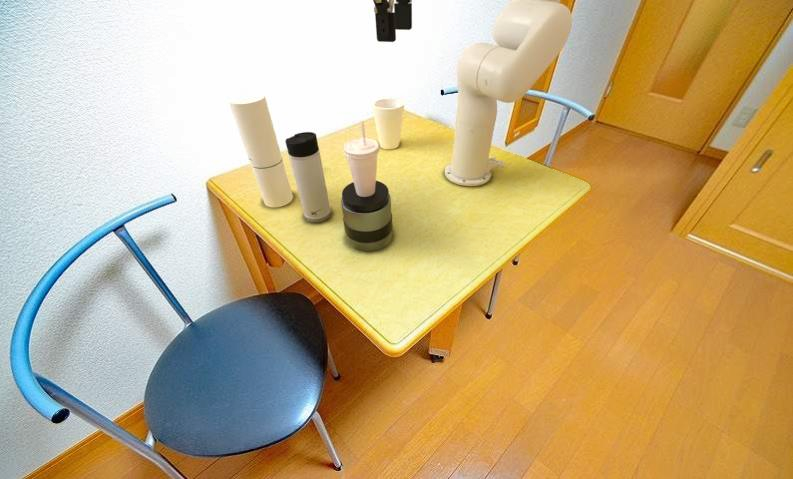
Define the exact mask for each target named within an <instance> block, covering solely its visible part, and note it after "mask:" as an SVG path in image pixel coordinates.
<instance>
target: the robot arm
mask: <svg viewBox="0 0 793 479" xmlns="http://www.w3.org/2000/svg"><path fill="white" fill-rule="evenodd" d="M372 1H373V12H374V17H375V18H374V19H375V32H376V40H377V42H379V43H394V42H396V40H397V31H398V30H399V31H410V30H412V28H413V0H372ZM561 1H562V0H509V2H508V3H507V5H506V6H505V7H504V8H503V10H502V11H501V12H500V14H499V15H498V17H497V19H496V21H495V22H494V24H493V29H492V38H493V40H494V42H495V43H496V44H492V43H488V42H475V43H473V44H470V45H469V46H467V47H466V48H465V49H464V50H463V51H462V53H461V55H459V59H458V61H457V65H456V84H457V86H456V87H457V106H456V107H457V108H456V115H455V126H454V136H453V146H452V154H451V162H450V163H449V164H447V165H446V166H445V168H444V175H445V177H446V178H447V179H448V180H449V181H450V182H451V183H453V184H455V185H459V186H464V187H477V186H482V185H485V184H486V183H488V182H489V181H490V180H491V178H492V170H493V169H500V168H504V167H505V161H504V160H503V159H501V160H497V159H496V157H495V156H494V157H490V152H491V146H492V142H493V135H494V130H495V126H496V121H497V116H498V101H499V102H502V103H504V104H511V103H515V102H517V101H519V100H521V99H522V98H523V97H524V96H525V95H526V94H527V93H528V92H529V91H530V90H531V89H532V87H533V86H534V85H535V84H536V83H537V81H539V79H540V77H542V75H543V74H544V73H545V72H546V71H547V69H548V68H549V67H550V65H551V64H552V63H553V62H554V60H555V59H556V58H557V57H558V55H559V54H560V53H561V51H562V50H563V48H564V47H565V45H566V43H567V41H568V39H569V36H570V33H571V31H572V27H573V16H572V12H571V11H570V10H571V9H569V7H568V6H566V5H565V4H563V3H560V2H561ZM393 11H394V12H393Z"/></svg>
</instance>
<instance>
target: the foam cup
mask: <svg viewBox="0 0 793 479" xmlns="http://www.w3.org/2000/svg"><path fill="white" fill-rule="evenodd" d="M371 106H372V107H371V108H372V109H371V110H372V114H373V118H374V119H373V120H374V123H375V129H376V133H377V139H378V144H379V148H381V149H384V150H393V149H396V148H399V147H400V141H401V134H402V126H403V116H404V112H405V102H404V101H403V100H402V99H399V98H393V97H384V98H379V99H378V98H377V99H376V100H374V101H372V104H371Z"/></svg>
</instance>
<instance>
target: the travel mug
mask: <svg viewBox="0 0 793 479" xmlns="http://www.w3.org/2000/svg"><path fill="white" fill-rule="evenodd" d="M285 145H286V149H287V154H288V159H289V162H290V166H291V171H292V174H293V178H294V181H295V185H296V189H297V193H298V196H299V197H298V198H299V200H300V205H301V208H302V212H303V217H304V219H305V220H306V221H307V222H310V223H314V224H315V223H322V222H325V221H327V220H328V219H329V218H330V217H331V215H332V210H331V205H330V199H329V193H328V189H327V183H326V178H325V172H324V168H323V162H322V156H321V152H320V147H319V142H318V137H317V134H316V133H315V132H313V131H303V132H297V133H295V134H294V135H293V136H290V137H287V138H286V139H285Z"/></svg>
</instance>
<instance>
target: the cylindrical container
mask: <svg viewBox="0 0 793 479" xmlns="http://www.w3.org/2000/svg"><path fill="white" fill-rule="evenodd" d="M227 102H228V105H229V108H230V110H231V114H232V116H233V120H234V122H235V124H236V127H237V129H238V133H239V136H240V139H241V141H242V144H243V147H244V150H245V153H246V155H247V156H246V157H247V158H248V161H249V164H250V167H251V170H252V172H253V175H254V178H255V181H256V184H257V186H258V189H259V192H260V195H261V198H262V201H263V204H264V205H265V206H267V207H269V208H281V207H285V206H286V205H288V204H290V203H291V202H292V201H293V198H294V195H293V192H292V188H291V185H290V182H289V178H288V175H287V171H286V170H287V169H286V167H285V163H284V160H283V156H282V152H281V149H280V145H279V142H278V138H277V135H276V131H275V128H274V123H273V120H272V116H271V113H270V110H269V106H268V103H267V102H268V101H267V99H266V95H265V93H263V92H260V91H259V92H258V91H246V92H241V93H237V94H234V95H231V96H230V97H229V98H228V99H227Z"/></svg>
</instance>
